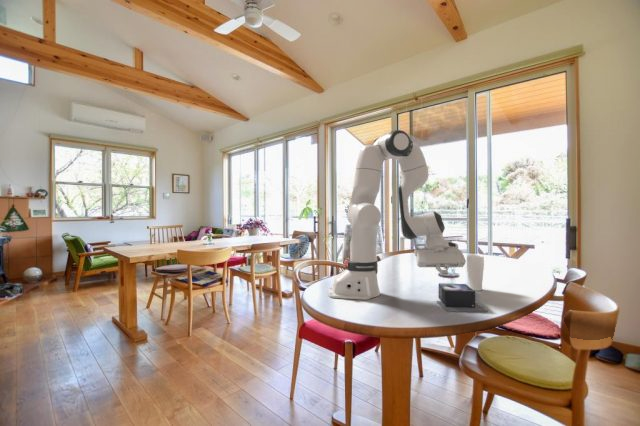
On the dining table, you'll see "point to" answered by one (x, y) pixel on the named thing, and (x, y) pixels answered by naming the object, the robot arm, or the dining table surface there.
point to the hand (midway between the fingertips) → (444, 274)
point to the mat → (463, 308)
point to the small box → (456, 295)
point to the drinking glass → (475, 271)
